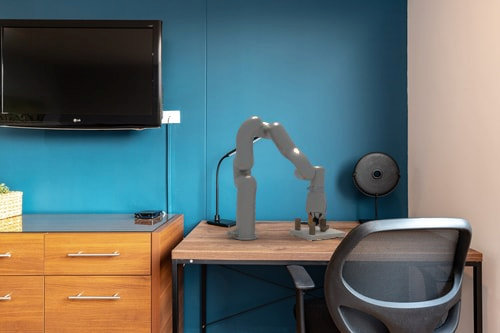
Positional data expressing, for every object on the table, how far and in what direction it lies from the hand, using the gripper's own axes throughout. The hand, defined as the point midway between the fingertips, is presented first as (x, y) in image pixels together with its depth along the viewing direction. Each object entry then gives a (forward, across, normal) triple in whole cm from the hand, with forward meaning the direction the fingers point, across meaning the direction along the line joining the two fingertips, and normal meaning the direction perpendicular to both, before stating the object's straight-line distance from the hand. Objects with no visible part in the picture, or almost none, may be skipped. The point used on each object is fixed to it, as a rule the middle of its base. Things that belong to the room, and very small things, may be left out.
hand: (315, 225), depth 177 cm
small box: (+5, -7, +25) cm, 27 cm away
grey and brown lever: (+2, +4, +4) cm, 6 cm away
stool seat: (+5, +1, 0) cm, 5 cm away
